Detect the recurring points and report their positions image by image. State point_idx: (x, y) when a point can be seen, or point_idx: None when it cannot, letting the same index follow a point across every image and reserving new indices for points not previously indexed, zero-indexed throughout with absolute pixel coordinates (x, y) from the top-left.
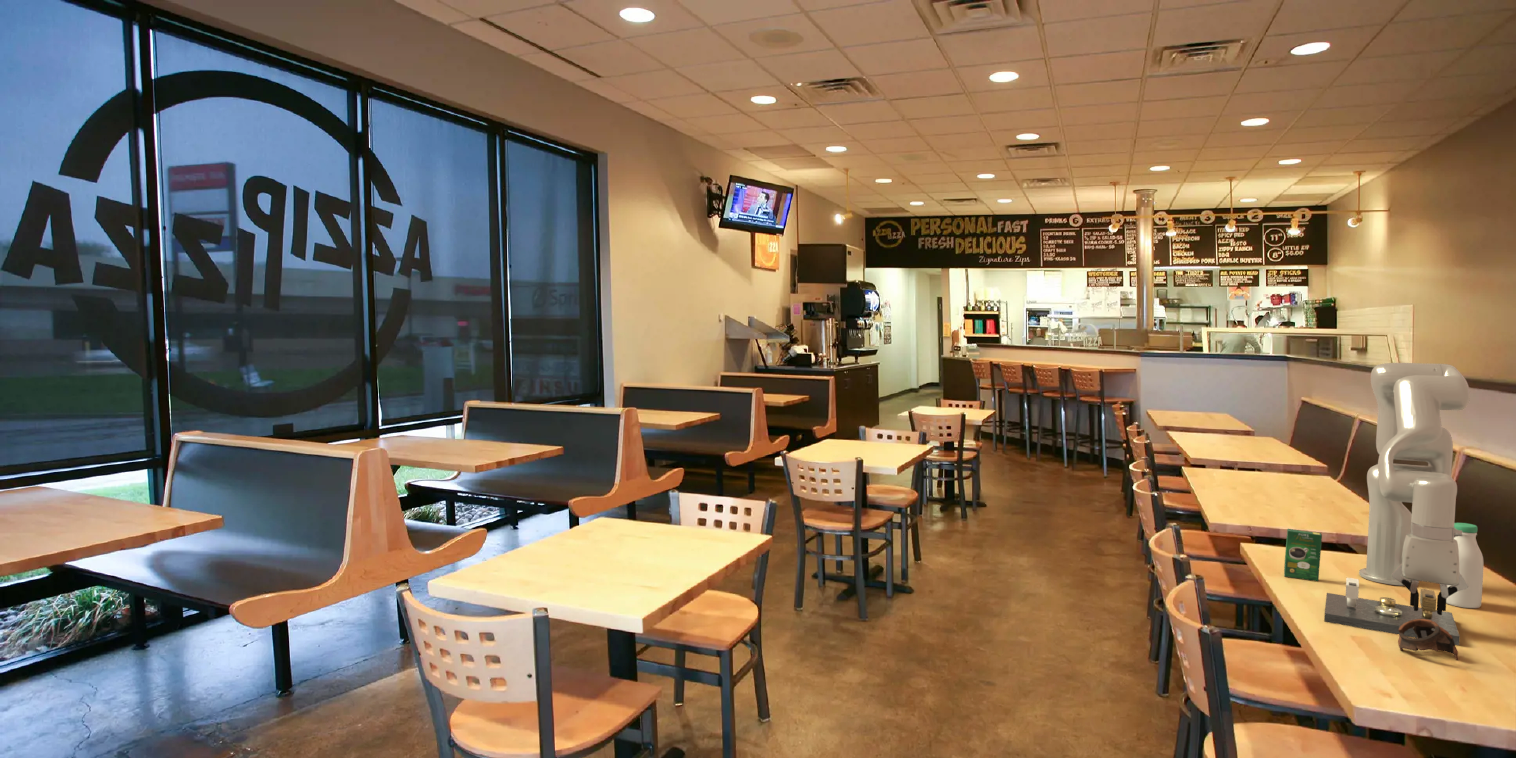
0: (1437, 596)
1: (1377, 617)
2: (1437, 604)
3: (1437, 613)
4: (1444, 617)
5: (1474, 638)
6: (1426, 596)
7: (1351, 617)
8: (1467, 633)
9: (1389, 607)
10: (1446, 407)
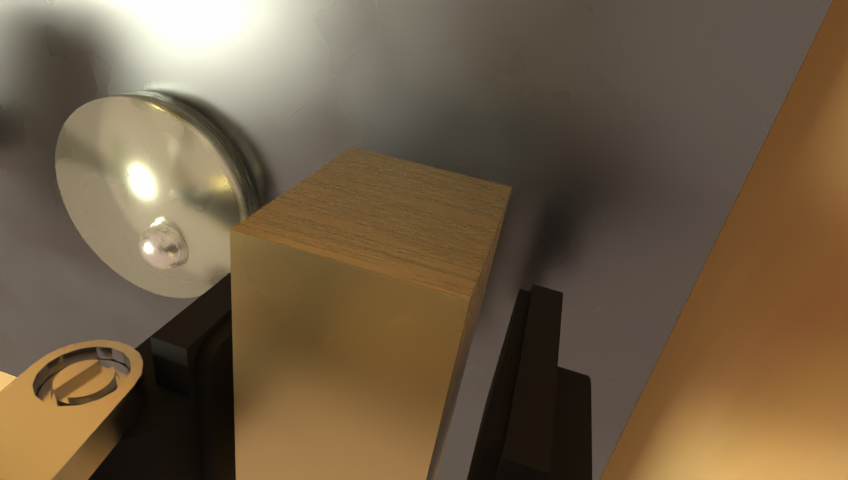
0: (489, 423)
1: (122, 335)
2: (490, 400)
3: (490, 386)
4: (657, 139)
5: (762, 379)
6: None
7: (17, 373)
8: (780, 269)
9: (147, 127)
10: None
